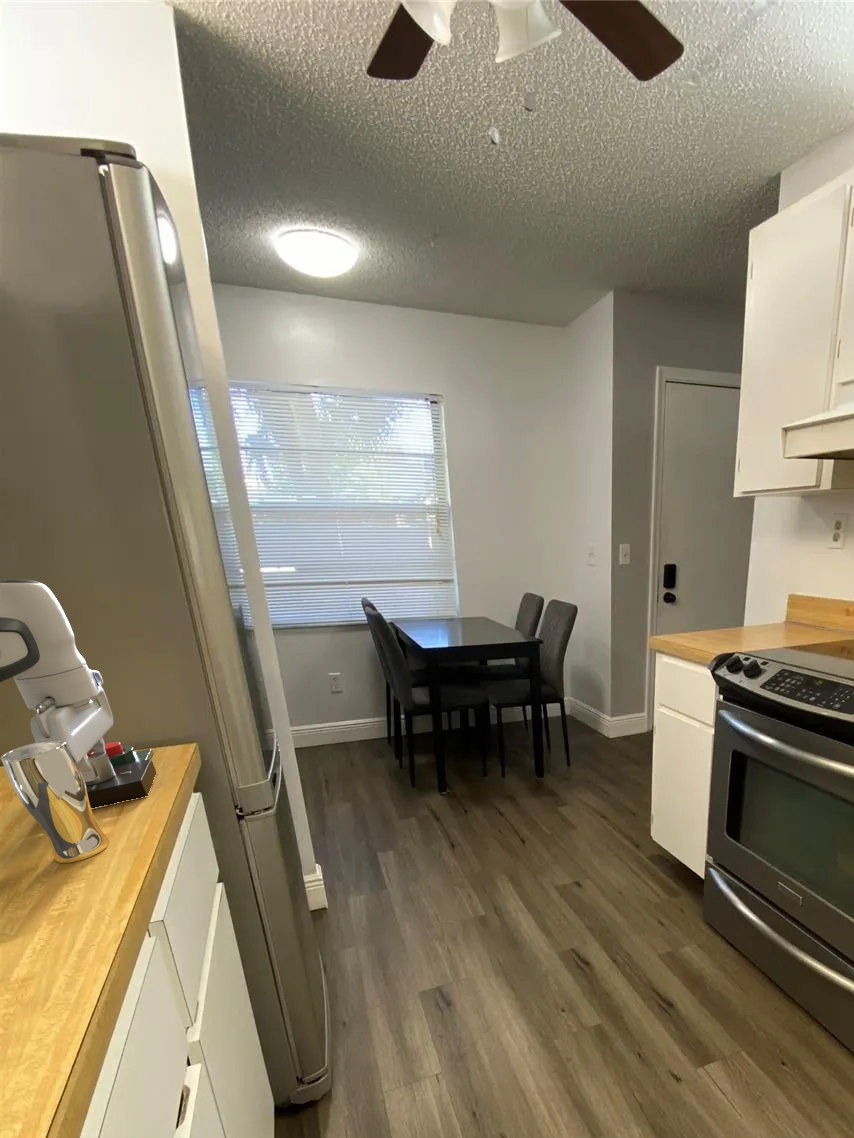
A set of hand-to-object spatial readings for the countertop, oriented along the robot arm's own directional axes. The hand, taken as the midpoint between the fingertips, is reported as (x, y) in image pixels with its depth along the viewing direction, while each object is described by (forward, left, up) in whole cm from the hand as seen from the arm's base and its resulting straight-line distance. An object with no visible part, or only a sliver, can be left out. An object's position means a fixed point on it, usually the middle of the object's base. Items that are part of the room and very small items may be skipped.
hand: (96, 772), depth 101 cm
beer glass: (+1, -20, -4) cm, 20 cm away
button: (0, +10, -1) cm, 10 cm away
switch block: (0, +10, -4) cm, 11 cm away
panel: (0, 0, -4) cm, 4 cm away
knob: (0, 0, -1) cm, 1 cm away
